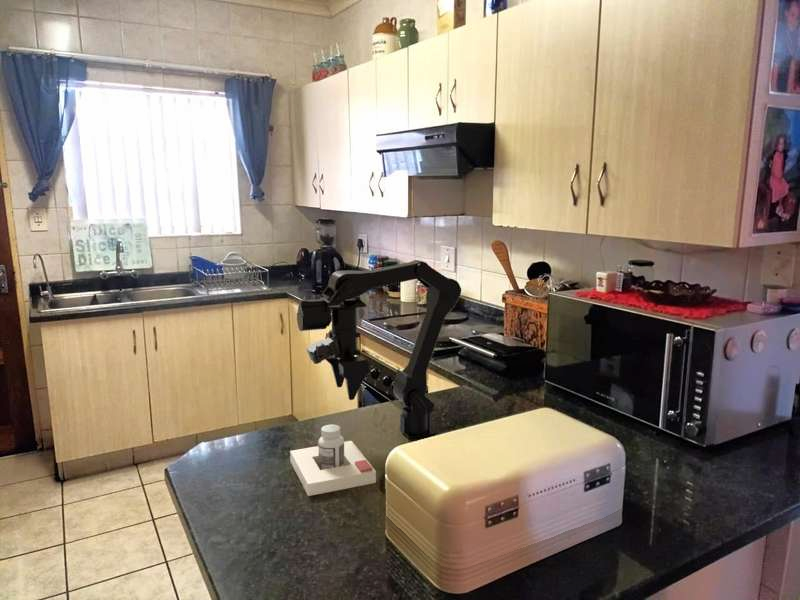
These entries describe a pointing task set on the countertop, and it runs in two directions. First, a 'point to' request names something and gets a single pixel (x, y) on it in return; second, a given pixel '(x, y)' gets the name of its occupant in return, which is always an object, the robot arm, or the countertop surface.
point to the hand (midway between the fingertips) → (345, 393)
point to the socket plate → (332, 470)
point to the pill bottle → (331, 447)
